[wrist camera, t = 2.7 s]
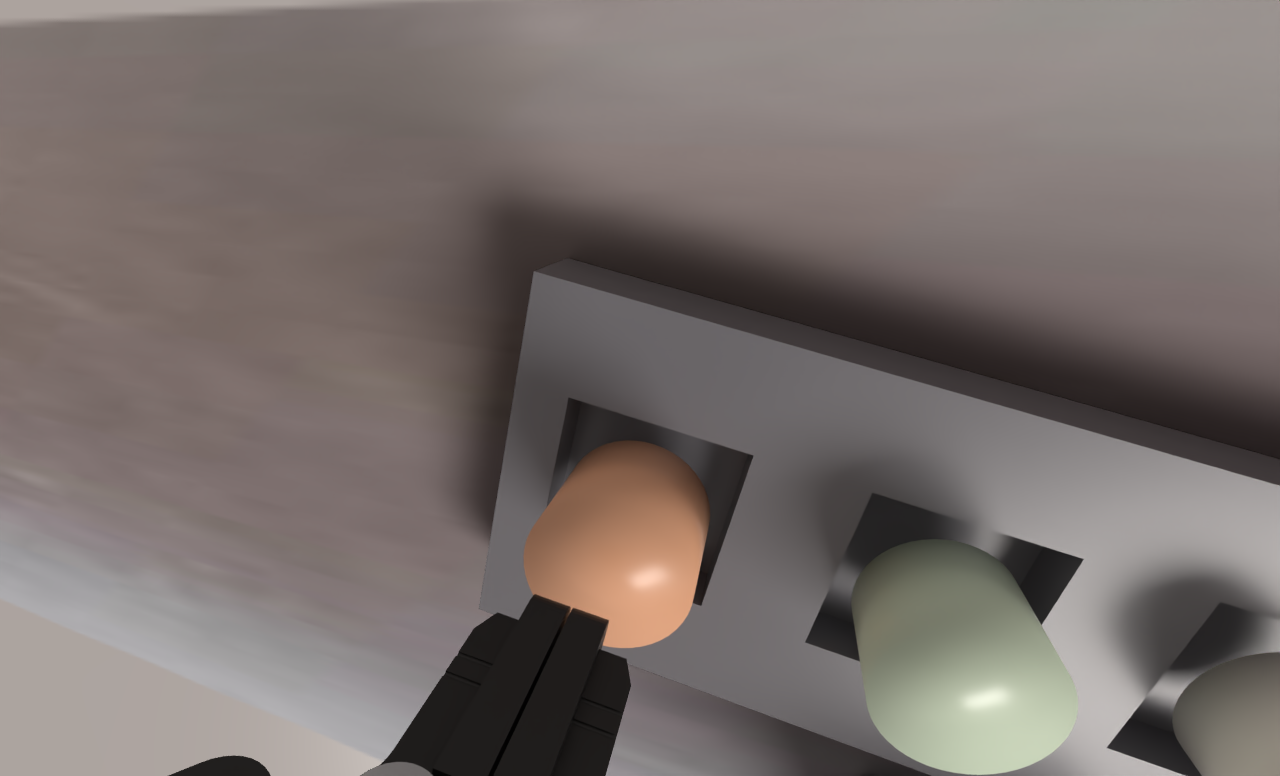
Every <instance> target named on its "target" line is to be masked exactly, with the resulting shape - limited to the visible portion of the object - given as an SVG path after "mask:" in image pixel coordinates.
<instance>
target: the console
mask: <svg viewBox="0 0 1280 776" xmlns="http://www.w3.org/2000/svg"><path fill="white" fill-rule="evenodd" d="M624 440H631V441H642V442H647V443H651V444H655V445H657V446H660V447H662V448H665V449H666V450H668V451H670V452H672V453H674V454H675V455H677V456H678V457H680V458H681V459H682V460H683V461H684V462H686V463H687V464H688V465H689V466H690V467H691V468H692V470H693V471H694V472H695V473H696V475H697V476H698V477H699V479H700V480H701V482H702V484H703V486H704V488H705V491H706V493H707V496H708V500H709V505H710V523H709V528H708V533H707V538H706V542H705V547H704V552H703V556H702V561H701V566H700V571H699V575H698V580H697V585H696V590H695V594H694V599H693V603H692V606H691V609H690V611H689V613H688V615H687V617H686V618H685V620H684V621H683V623H682V624H681V625H680V626H679V627H678V628H677V629H676V630H675V631H674V632H673V633H671V634H670V635H669V636H667V637H666V638H664V639H662V640H660V641H658V642H655V643H653V644H650V645H646V646H642V647H635V648H615V647H608V646H602V649H601V650H604V651H606V652H609V653H612V654H615V655H617V656H620V657H623V658H626V659H627V664H630V665H632V666H635V667H638V668H640V669H643V670H646V671H649V672H651V673H654V674H657V675H659V676H662V677H665V678H668V679H670V680H673V681H676V682H678V683H681V684H684V685H687V686H689V687H692V688H695V689H697V690H700V691H703V692H706V693H708V694H711V695H714V696H716V697H719V698H722V699H725V700H727V701H730V702H733V703H735V704H738V705H741V706H744V707H746V708H749V709H752V710H754V711H757V712H760V713H763V714H765V715H768V716H771V717H773V718H776V719H779V720H782V721H784V722H787V723H790V724H792V725H795V726H798V727H801V728H803V729H806V730H809V731H811V732H814V733H817V734H820V735H822V736H825V737H828V738H830V739H833V740H836V741H839V742H841V743H844V744H847V745H849V746H852V747H855V748H858V749H860V750H863V751H866V752H868V753H871V754H874V755H877V756H879V757H882V758H885V759H887V760H890V761H893V762H896V763H898V764H901V765H904V766H906V767H909V768H912V769H915V770H917V771H920V772H923V773H925V774H928V775H931V776H1202V775H1201V774H1200V773H1199V771H1198V770H1197V768H1196V767H1195V765H1194V764H1193V762H1192V761H1191V760H1190V758H1189V757H1188V755H1187V754H1186V752H1185V751H1184V750H1183V748H1182V747H1181V745H1180V743H1179V742H1178V740H1177V738H1176V736H1175V733H1174V730H1173V723H1172V719H1173V711H1174V707H1175V705H1176V702H1177V700H1178V698H1179V697H1180V695H1181V694H1182V692H1183V691H1184V690H1185V688H1186V687H1187V686H1188V685H1189V684H1190V683H1191V682H1192V681H1194V680H1195V679H1196V678H1197V677H1199V676H1200V675H1201V674H1203V673H1205V672H1206V671H1208V670H1209V669H1212V668H1214V667H1216V666H1218V665H1220V664H1222V663H1225V662H1228V661H1230V660H1233V659H1237V658H1240V657H1244V656H1249V655H1254V654H1260V653H1271V652H1280V459H1277V458H1273V457H1270V456H1266V455H1263V454H1259V453H1256V452H1252V451H1249V450H1245V449H1241V448H1238V447H1234V446H1231V445H1227V444H1224V443H1220V442H1217V441H1213V440H1210V439H1206V438H1203V437H1199V436H1195V435H1192V434H1188V433H1185V432H1181V431H1178V430H1174V429H1171V428H1167V427H1164V426H1160V425H1157V424H1153V423H1149V422H1146V421H1142V420H1139V419H1135V418H1132V417H1128V416H1125V415H1121V414H1118V413H1114V412H1111V411H1107V410H1103V409H1100V408H1096V407H1093V406H1089V405H1086V404H1082V403H1079V402H1075V401H1072V400H1068V399H1065V398H1061V397H1057V396H1054V395H1050V394H1047V393H1043V392H1040V391H1036V390H1033V389H1029V388H1026V387H1022V386H1018V385H1015V384H1011V383H1008V382H1004V381H1001V380H997V379H994V378H990V377H987V376H983V375H980V374H976V373H972V372H969V371H965V370H962V369H958V368H955V367H951V366H948V365H944V364H941V363H937V362H934V361H930V360H926V359H923V358H919V357H916V356H912V355H909V354H905V353H902V352H898V351H895V350H891V349H888V348H884V347H880V346H877V345H873V344H870V343H866V342H863V341H859V340H856V339H852V338H849V337H845V336H842V335H838V334H834V333H831V332H827V331H824V330H820V329H817V328H813V327H810V326H806V325H803V324H799V323H796V322H792V321H788V320H785V319H781V318H778V317H774V316H771V315H767V314H764V313H760V312H757V311H753V310H749V309H746V308H742V307H739V306H735V305H732V304H728V303H725V302H721V301H718V300H714V299H711V298H707V297H703V296H700V295H696V294H693V293H689V292H686V291H682V290H679V289H675V288H672V287H668V286H665V285H661V284H657V283H654V282H650V281H647V280H643V279H640V278H636V277H633V276H629V275H626V274H622V273H619V272H615V271H611V270H608V269H604V268H601V267H597V266H594V265H590V264H587V263H583V262H580V261H576V260H573V259H569V258H567V259H564V260H561V261H559V262H556V263H554V264H551V265H548V266H546V267H543V268H541V269H538V270H536V271H534V273H533V279H532V285H531V291H530V298H529V304H528V310H527V316H526V322H525V328H524V334H523V340H522V347H521V353H520V359H519V365H518V371H517V377H516V383H515V390H514V396H513V402H512V408H511V414H510V420H509V426H508V433H507V439H506V445H505V451H504V457H503V463H502V469H501V476H500V482H499V488H498V494H497V500H496V506H495V512H494V519H493V525H492V531H491V537H490V543H489V549H488V555H487V561H486V568H485V574H484V580H483V586H482V592H481V598H480V604H479V609H480V610H483V611H486V612H488V613H491V614H494V615H495V614H496V613H497V612H498V613H501V614H504V615H506V616H509V617H512V618H515V619H518V620H519V618H520V616H521V615H522V613H523V611H524V609H525V608H526V606H527V604H528V603H529V601H530V599H531V598H532V596H533V594H532V591H531V589H530V587H529V585H528V582H527V579H526V576H525V570H524V558H523V556H524V547H525V544H526V540H527V537H528V535H529V533H530V531H531V529H532V528H533V526H534V525H535V523H536V522H537V520H538V519H539V518H540V516H541V515H542V513H543V512H544V511H545V509H546V508H547V506H548V505H549V503H550V502H551V501H552V499H553V498H554V496H555V495H556V494H557V492H558V491H559V489H560V488H561V487H562V485H563V484H564V482H565V481H566V480H567V478H568V477H569V475H570V474H571V473H572V471H573V470H574V468H575V467H576V465H577V464H578V463H579V462H580V461H581V459H582V458H583V457H584V456H586V455H587V454H588V453H589V452H591V451H592V450H594V449H596V448H598V447H600V446H602V445H605V444H608V443H612V442H616V441H624ZM926 539H944V540H952V541H958V542H961V543H965V544H969V545H971V546H974V547H977V548H979V549H981V550H983V551H985V552H987V553H989V554H990V555H992V556H993V557H995V558H996V559H998V560H999V561H1000V562H1001V563H1002V564H1003V565H1004V566H1005V567H1006V568H1007V569H1008V570H1009V571H1010V573H1011V574H1012V575H1013V577H1014V579H1015V580H1016V582H1017V584H1018V585H1019V587H1020V589H1021V591H1022V592H1023V594H1024V596H1025V598H1026V599H1027V601H1028V603H1029V604H1030V606H1031V608H1032V610H1033V611H1034V613H1035V615H1036V617H1037V618H1038V620H1039V622H1040V624H1041V625H1042V627H1043V629H1044V631H1045V632H1046V634H1047V636H1048V638H1049V639H1050V641H1051V643H1052V645H1053V646H1054V648H1055V650H1056V652H1057V653H1058V655H1059V657H1060V659H1061V660H1062V662H1063V664H1064V666H1065V667H1066V669H1067V671H1068V673H1069V674H1070V676H1071V678H1072V680H1073V683H1074V685H1075V688H1076V691H1077V696H1078V712H1077V718H1076V721H1075V724H1074V726H1073V729H1072V730H1071V732H1070V734H1069V735H1068V737H1067V738H1066V739H1065V741H1064V742H1063V743H1062V744H1061V745H1060V746H1059V747H1058V748H1057V749H1056V750H1055V751H1053V752H1052V753H1051V754H1050V755H1048V756H1046V757H1045V758H1043V759H1042V760H1040V761H1038V762H1036V763H1034V764H1032V765H1029V766H1026V767H1024V768H1021V769H1018V770H1014V771H1009V772H1005V773H998V774H987V775H971V774H960V773H953V772H948V771H944V770H940V769H936V768H933V767H930V766H927V765H925V764H922V763H920V762H918V761H916V760H914V759H912V758H910V757H908V756H906V755H905V754H903V753H902V752H900V751H899V750H898V749H896V748H895V747H894V746H893V745H891V744H890V743H889V742H888V741H887V740H886V739H885V738H884V737H883V736H882V735H881V733H880V732H879V731H878V729H877V728H876V726H875V725H874V723H873V721H872V719H871V717H870V714H869V711H868V708H867V703H866V697H865V690H864V684H863V678H862V671H861V665H860V659H859V652H858V646H857V639H856V633H855V627H854V620H853V614H852V607H851V597H852V592H853V588H854V585H855V582H856V580H857V578H858V577H859V575H860V573H861V572H862V571H863V569H864V568H865V567H866V566H867V565H868V564H869V563H870V562H871V561H872V560H873V559H874V558H876V557H877V556H878V555H880V554H881V553H883V552H885V551H887V550H889V549H890V548H893V547H895V546H898V545H900V544H904V543H908V542H912V541H918V540H926Z"/></svg>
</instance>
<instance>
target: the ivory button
mask: <svg viewBox="0 0 1280 776" xmlns="http://www.w3.org/2000/svg"><path fill="white" fill-rule="evenodd" d="M1172 723H1173V730H1174V733H1175V736H1176V738H1177V740H1178V742H1179V743H1180V745H1181V747H1182V748H1183V750H1184V751H1185V752H1186V754H1187V755H1188V757H1189V758H1190V760H1191V761H1192V762H1193V764H1194V765H1195V767H1196V768H1197V770H1198V771H1199V773H1200V774H1201V775H1202V776H1280V652H1271V653H1260V654H1254V655H1249V656H1244V657H1240V658H1237V659H1233V660H1230V661H1228V662H1225V663H1222V664H1220V665H1218V666H1216V667H1214V668H1212V669H1209V670H1208V671H1206V672H1205V673H1203V674H1201V675H1200V676H1199V677H1197V678H1196V679H1195V680H1194V681H1192V682H1191V683H1190V684H1189V685H1188V686H1187V687H1186V688H1185V690H1184V691H1183V692H1182V694H1181V695H1180V697H1179V698H1178V700H1177V702H1176V705H1175V707H1174V711H1173V719H1172Z"/></svg>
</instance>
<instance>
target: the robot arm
mask: <svg viewBox="0 0 1280 776" xmlns="http://www.w3.org/2000/svg"><path fill="white" fill-rule="evenodd" d="M570 611H571V612H570ZM608 624H609V620H607V619H604V618H602V617H599V616H596V615H593V614H590V613H588V612H585V611H582V610H579V609H576V608H573V609H572V610H571V607H570V606H567V605H565V604H562V603H559V602H556V601H553V600H551V599H548V598H545V597H542V596H539V595H537V594H534V595H533V596H532V598H531V599H530V601H529V603H528V604H527V606H526V608H525V609H524V611H523V613H522V615H521V616H520V618H519V620H518V619H515V618H512V617H509V616H506V615H504V614H501V613H498V612H497V613H496V614H495V615H493V616H492V617H490V618H489V619H487V620H486V621H484V622H483V623H481V624H480V625H478V626H477V627H475V628H474V629H473V631H472V632H471V634H470V635H469V637H468V638H467V640H466V641H465V643H464V644H463V646H462V647H461V649H460V651H459V653H458V655H457V656H456V657H455V658H454V660H453V661H452V663H451V664H450V666H449V667H448V669H447V670H446V673H445V675H444V676H442V678H441V679H440V681H439V682H438V684H437V685H436V687H435V688H434V690H433V691H432V693H431V694H430V696H429V697H428V699H427V700H426V702H425V703H424V705H423V706H422V708H421V709H420V711H419V712H418V714H417V715H416V717H415V718H414V720H413V721H412V723H411V724H410V726H409V727H408V729H407V730H406V732H405V733H404V735H403V736H402V738H401V739H400V741H399V742H398V744H397V745H396V747H395V748H394V750H393V751H392V752H391V754H390V755H389V756H388V758H387V759H386V760H385V761H384V762H383V763H382V764H381V765H379V766H377V767H375V768H373V769H370V770H368V771H367V772H365V773H364V774H362V775H360V776H605V775H606V772H607V768H608V764H609V761H610V757H611V754H612V750H613V747H614V743H615V740H616V736H617V733H618V729H619V726H620V722H621V719H622V715H623V712H624V708H625V705H626V701H627V698H628V694H629V691H630V687H631V683H630V677H629V671H628V665H627V659H626V658H623V657H620V656H617V655H615V654H612V653H609V652H606V651H604V650H601V649H602V646H603V642H604V639H605V635H606V632H607V628H608ZM169 776H270V774H269V772H268V771H267V769H266V768H265V767H264V766H263V765H262V764H261V763H259V762H258V761H256V760H254V759H251V758H248V757H244V756H223V757H218V758H214V759H210V760H207V761H205V762H201V763H199V764H196V765H194V766H192V767H189V768H187V769H184V770H181V771H179V772H176V773H174V774H172V775H169Z"/></svg>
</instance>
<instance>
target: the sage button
mask: <svg viewBox="0 0 1280 776" xmlns="http://www.w3.org/2000/svg"><path fill="white" fill-rule="evenodd" d="M851 607H852V614H853V620H854V627H855V633H856V639H857V646H858V652H859V659H860V665H861V671H862V678H863V684H864V690H865V697H866V703H867V708H868V711H869V714H870V717H871V719H872V721H873V723H874V725H875V726H876V728H877V729H878V731H879V732H880V733H881V735H882V736H883V737H884V738H885V739H886V740H887V741H888V742H889V743H890V744H891V745H893V746H894V747H895V748H896V749H898V750H899V751H900V752H902V753H903V754H905V755H906V756H908V757H910V758H912V759H914V760H916V761H918V762H920V763H922V764H925V765H927V766H930V767H933V768H936V769H940V770H944V771H948V772H953V773H960V774H971V775H987V774H998V773H1005V772H1009V771H1014V770H1018V769H1021V768H1024V767H1026V766H1029V765H1032V764H1034V763H1036V762H1038V761H1040V760H1042V759H1043V758H1045V757H1046V756H1048V755H1050V754H1051V753H1052V752H1053V751H1055V750H1056V749H1057V748H1058V747H1059V746H1060V745H1061V744H1062V743H1063V742H1064V741H1065V739H1066V738H1067V737H1068V735H1069V734H1070V732H1071V730H1072V729H1073V726H1074V724H1075V721H1076V718H1077V712H1078V696H1077V691H1076V688H1075V685H1074V683H1073V680H1072V678H1071V676H1070V674H1069V673H1068V671H1067V669H1066V667H1065V666H1064V664H1063V662H1062V660H1061V659H1060V657H1059V655H1058V653H1057V652H1056V650H1055V648H1054V646H1053V645H1052V643H1051V641H1050V639H1049V638H1048V636H1047V634H1046V632H1045V631H1044V629H1043V627H1042V625H1041V624H1040V622H1039V620H1038V618H1037V617H1036V615H1035V613H1034V611H1033V610H1032V608H1031V606H1030V604H1029V603H1028V601H1027V599H1026V598H1025V596H1024V594H1023V592H1022V591H1021V589H1020V587H1019V585H1018V584H1017V582H1016V580H1015V579H1014V577H1013V575H1012V574H1011V573H1010V571H1009V570H1008V569H1007V568H1006V567H1005V566H1004V565H1003V564H1002V563H1001V562H1000V561H999V560H998V559H996V558H995V557H993V556H992V555H990V554H989V553H987V552H985V551H983V550H981V549H979V548H977V547H974V546H971V545H969V544H965V543H961V542H958V541H952V540H944V539H926V540H918V541H912V542H908V543H904V544H900V545H898V546H895V547H893V548H890V549H889V550H887V551H885V552H883V553H881V554H880V555H878V556H877V557H876V558H874V559H873V560H872V561H871V562H870V563H869V564H868V565H867V566H866V567H865V568H864V569H863V571H862V572H861V573H860V575H859V577H858V578H857V580H856V582H855V585H854V588H853V592H852V597H851Z"/></svg>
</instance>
